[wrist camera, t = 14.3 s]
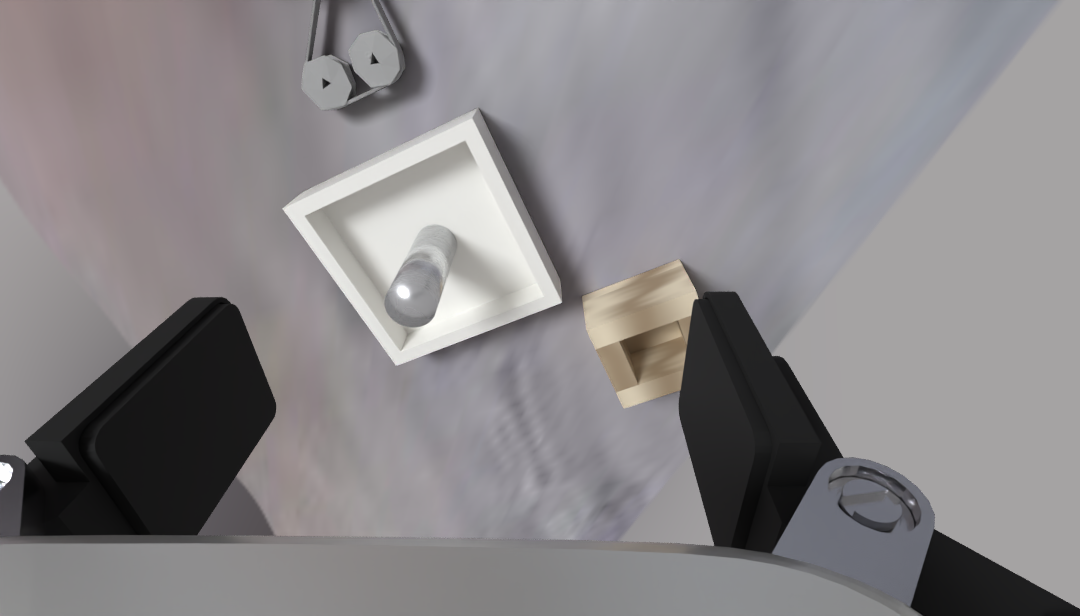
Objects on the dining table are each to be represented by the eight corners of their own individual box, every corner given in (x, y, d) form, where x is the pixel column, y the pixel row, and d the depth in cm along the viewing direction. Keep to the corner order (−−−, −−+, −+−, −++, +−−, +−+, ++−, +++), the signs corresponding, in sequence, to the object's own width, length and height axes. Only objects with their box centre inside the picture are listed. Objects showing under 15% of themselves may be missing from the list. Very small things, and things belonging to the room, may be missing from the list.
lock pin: (444, 218, 37) (419, 275, 29) (464, 253, 39) (445, 317, 31) (408, 233, 38) (374, 294, 30) (428, 268, 39) (401, 334, 31)
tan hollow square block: (679, 259, 40) (696, 290, 36) (706, 338, 44) (724, 375, 39) (581, 296, 42) (586, 330, 37) (615, 369, 45) (623, 408, 41)
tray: (478, 107, 34) (472, 117, 31) (560, 280, 41) (562, 302, 38) (303, 191, 37) (282, 208, 34) (406, 340, 44) (396, 365, 41)
